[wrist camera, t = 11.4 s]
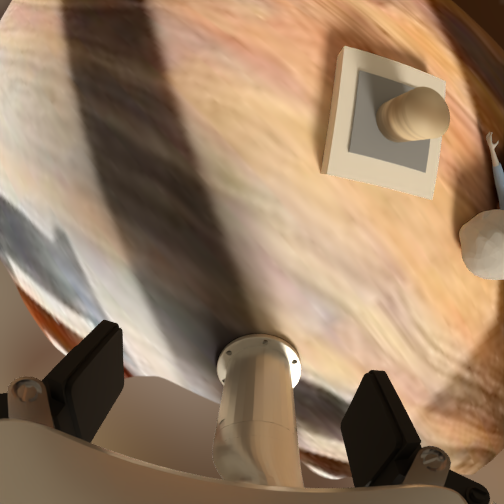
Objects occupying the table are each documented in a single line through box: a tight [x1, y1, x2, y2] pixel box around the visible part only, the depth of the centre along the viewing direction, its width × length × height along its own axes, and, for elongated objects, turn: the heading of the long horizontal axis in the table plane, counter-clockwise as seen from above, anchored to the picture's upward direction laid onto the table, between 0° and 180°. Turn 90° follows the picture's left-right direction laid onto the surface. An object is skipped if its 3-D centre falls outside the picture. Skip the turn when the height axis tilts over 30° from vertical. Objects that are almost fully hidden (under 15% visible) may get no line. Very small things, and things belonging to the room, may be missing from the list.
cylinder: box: [376, 87, 450, 143], centre depth 26 cm, size 5×5×8 cm
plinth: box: [321, 46, 446, 200], centre depth 32 cm, size 16×14×4 cm
